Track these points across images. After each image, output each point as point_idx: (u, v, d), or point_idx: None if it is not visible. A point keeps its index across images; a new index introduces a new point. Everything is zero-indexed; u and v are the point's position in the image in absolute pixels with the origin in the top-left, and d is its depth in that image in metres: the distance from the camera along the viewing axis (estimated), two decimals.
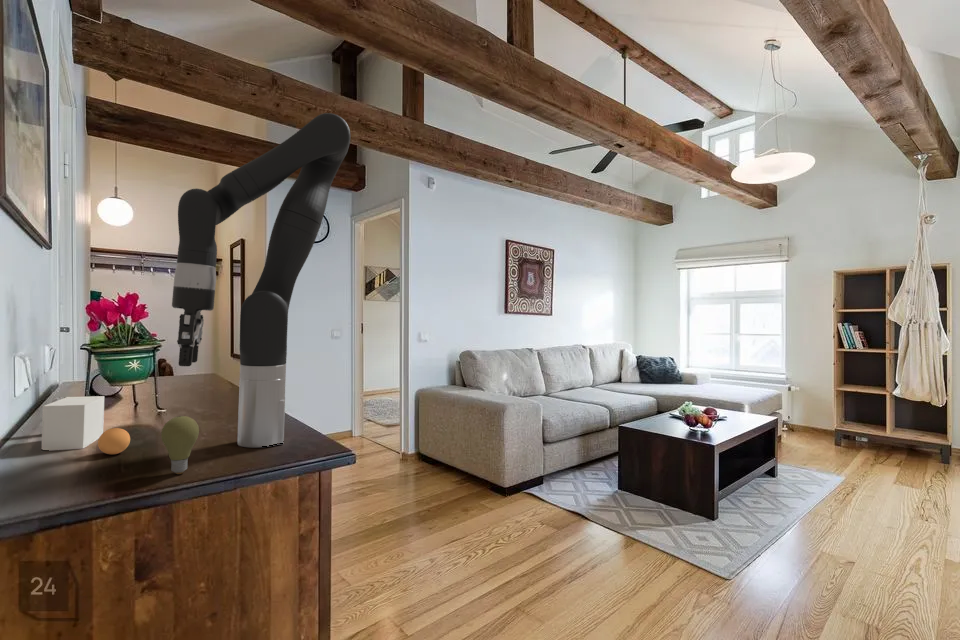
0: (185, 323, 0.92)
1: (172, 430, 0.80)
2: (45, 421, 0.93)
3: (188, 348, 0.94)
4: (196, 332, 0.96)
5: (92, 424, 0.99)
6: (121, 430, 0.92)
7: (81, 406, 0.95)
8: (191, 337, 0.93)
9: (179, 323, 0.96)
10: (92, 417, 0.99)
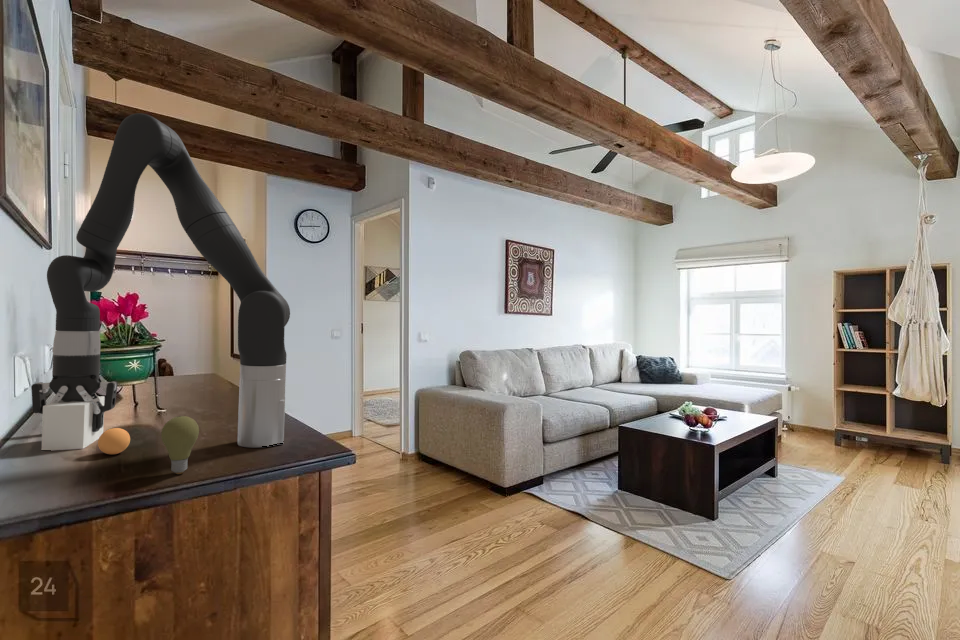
0: (114, 390, 1.01)
1: (172, 430, 0.80)
2: (45, 421, 0.93)
3: (103, 413, 1.01)
4: (97, 397, 1.01)
5: None
6: (121, 430, 0.92)
7: (81, 406, 0.95)
8: None
9: (85, 391, 0.98)
10: (92, 417, 0.99)
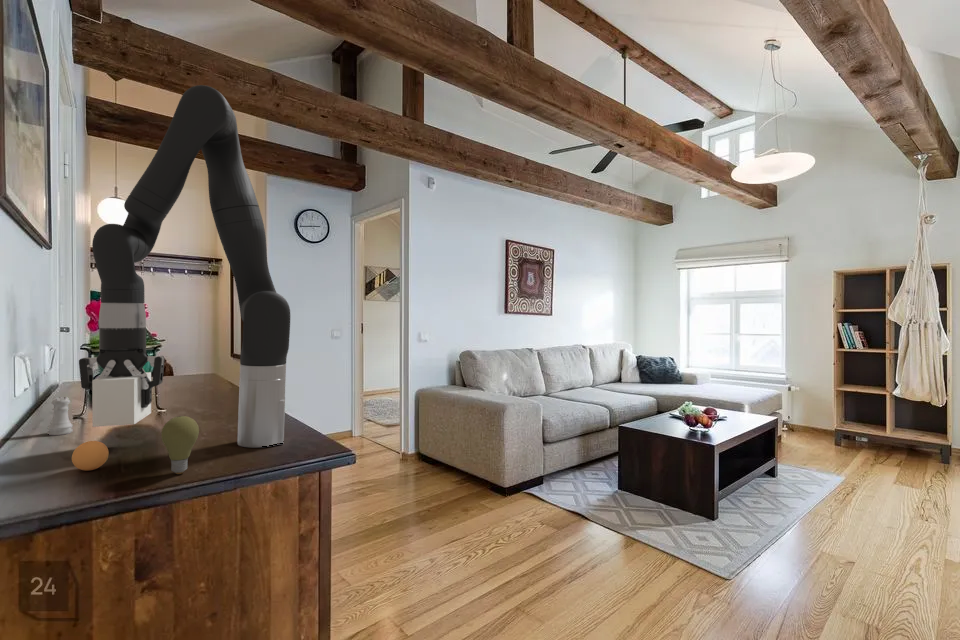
0: (161, 365, 0.97)
1: (172, 430, 0.80)
2: (95, 396, 0.89)
3: (151, 388, 0.97)
4: (145, 372, 0.98)
5: None
6: None
7: (131, 380, 0.91)
8: (162, 377, 0.98)
9: (132, 365, 0.94)
10: None
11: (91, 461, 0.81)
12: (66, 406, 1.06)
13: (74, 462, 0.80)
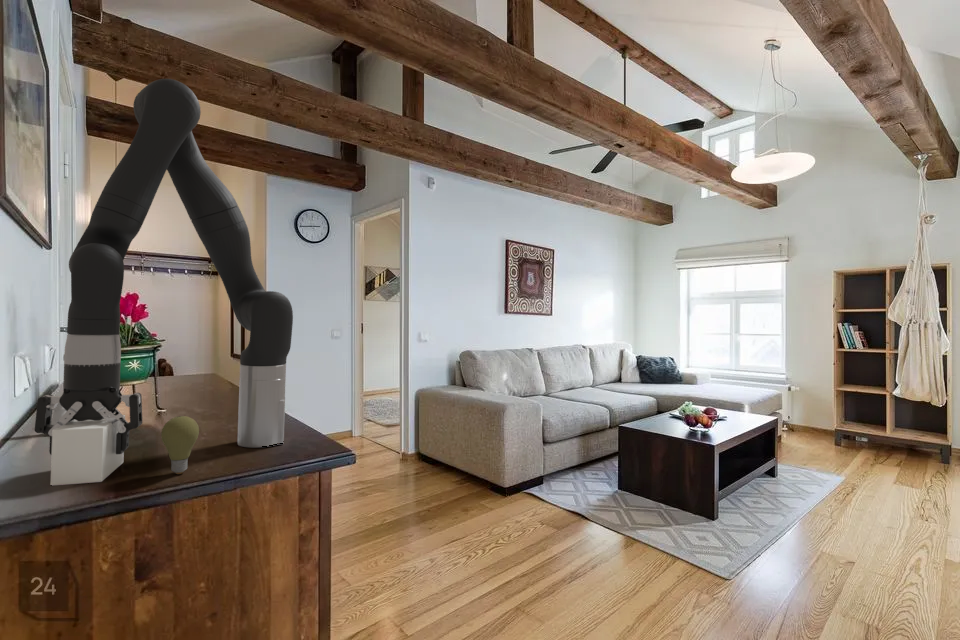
0: (138, 403, 0.83)
1: (172, 430, 0.80)
2: (55, 448, 0.75)
3: None
4: (119, 412, 0.84)
5: (111, 450, 0.81)
6: None
7: (99, 430, 0.77)
8: (141, 417, 0.85)
9: (103, 407, 0.80)
10: (111, 442, 0.81)
11: None
12: None
13: None
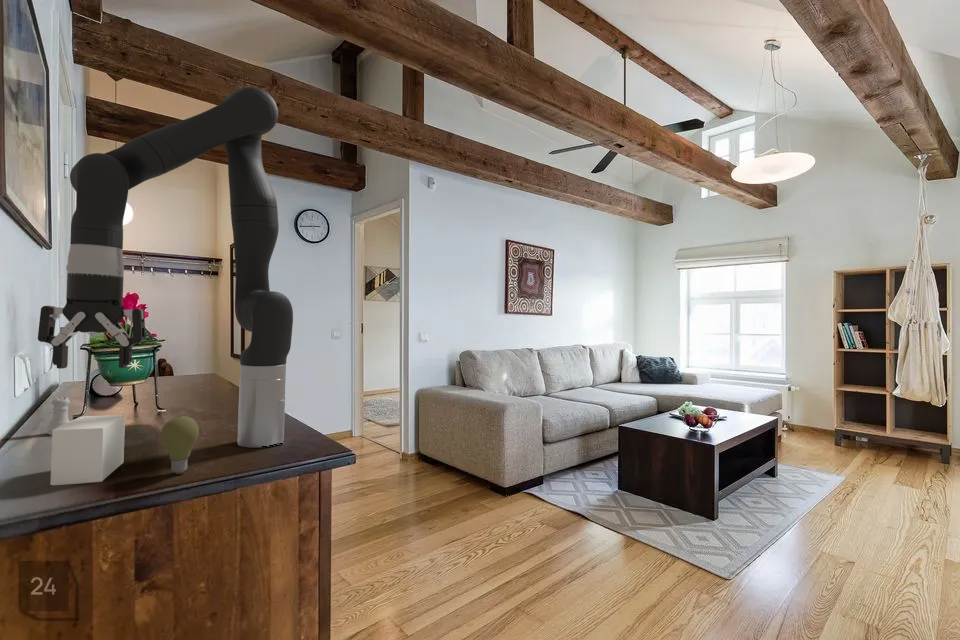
0: (141, 318, 0.83)
1: (172, 430, 0.80)
2: (55, 448, 0.75)
3: (132, 346, 0.83)
4: (122, 328, 0.84)
5: (111, 450, 0.81)
6: None
7: (99, 430, 0.77)
8: (144, 333, 0.85)
9: (106, 319, 0.80)
10: (111, 442, 0.81)
11: None
12: (66, 406, 1.06)
13: None
